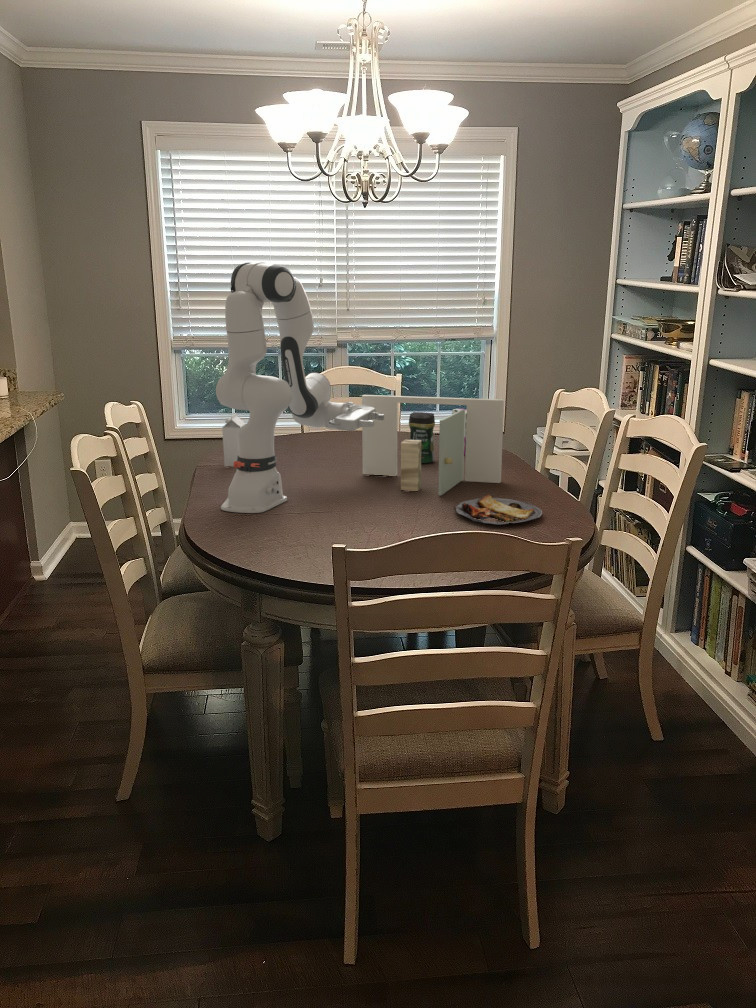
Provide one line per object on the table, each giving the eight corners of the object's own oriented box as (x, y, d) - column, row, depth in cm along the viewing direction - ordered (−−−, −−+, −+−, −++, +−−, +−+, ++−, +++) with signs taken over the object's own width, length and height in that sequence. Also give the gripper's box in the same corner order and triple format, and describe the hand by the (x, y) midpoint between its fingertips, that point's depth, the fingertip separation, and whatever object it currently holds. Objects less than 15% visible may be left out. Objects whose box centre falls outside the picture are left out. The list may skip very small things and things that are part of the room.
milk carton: (248, 463, 300) (245, 413, 295) (243, 468, 294) (240, 416, 288) (229, 463, 301) (226, 412, 296) (224, 467, 294) (221, 416, 289)
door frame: (500, 483, 272) (503, 400, 264) (362, 475, 283) (361, 395, 275) (500, 481, 274) (504, 399, 266) (364, 473, 285) (363, 394, 277)
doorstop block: (417, 492, 262) (417, 443, 257) (400, 491, 263) (401, 442, 258) (420, 487, 267) (421, 440, 262) (404, 486, 268) (404, 439, 264)
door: (468, 479, 274) (470, 409, 268) (447, 496, 255) (448, 421, 248) (460, 478, 275) (462, 409, 269) (438, 495, 256) (439, 420, 249)
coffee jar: (405, 463, 300) (406, 413, 295) (411, 458, 308) (411, 410, 302) (431, 464, 298) (431, 414, 292) (436, 460, 305) (437, 411, 300)
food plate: (439, 513, 239) (439, 501, 238) (492, 499, 253) (493, 488, 252) (502, 535, 221) (503, 523, 220) (556, 519, 235) (557, 508, 234)
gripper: (326, 413, 254) (367, 418, 249) (351, 400, 272) (389, 404, 267) (326, 433, 256) (366, 437, 251) (351, 419, 274) (389, 423, 269)
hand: (378, 420), depth 260 cm, fingers open, 8 cm apart
